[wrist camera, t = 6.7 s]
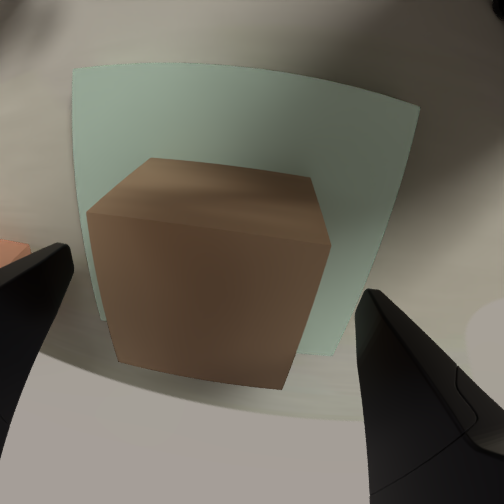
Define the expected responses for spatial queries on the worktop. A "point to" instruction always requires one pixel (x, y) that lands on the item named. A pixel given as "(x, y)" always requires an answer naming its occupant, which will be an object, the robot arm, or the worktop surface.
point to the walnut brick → (209, 269)
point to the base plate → (253, 153)
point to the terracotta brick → (12, 251)
